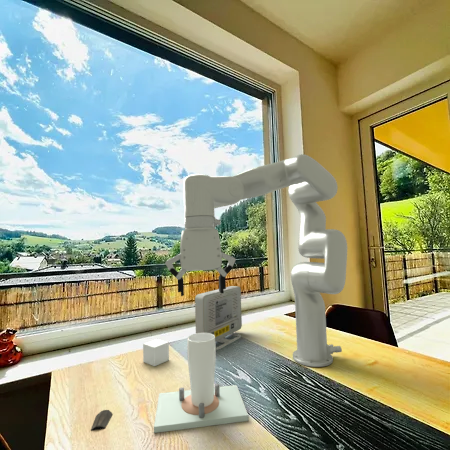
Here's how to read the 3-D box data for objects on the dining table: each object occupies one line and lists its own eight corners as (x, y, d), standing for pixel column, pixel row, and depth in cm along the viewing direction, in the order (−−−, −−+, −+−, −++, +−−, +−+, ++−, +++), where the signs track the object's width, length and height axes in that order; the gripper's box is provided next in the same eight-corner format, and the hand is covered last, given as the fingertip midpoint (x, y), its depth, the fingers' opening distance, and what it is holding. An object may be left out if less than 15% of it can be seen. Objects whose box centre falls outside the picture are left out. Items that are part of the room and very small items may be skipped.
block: (90, 437, 58) (89, 429, 58) (97, 418, 64) (96, 410, 64) (108, 432, 59) (107, 424, 59) (113, 413, 64) (112, 406, 64)
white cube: (143, 362, 92) (143, 343, 92) (157, 356, 96) (157, 338, 97) (154, 366, 88) (154, 347, 88) (169, 360, 93) (168, 341, 93)
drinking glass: (188, 395, 68) (187, 333, 69) (216, 393, 68) (214, 331, 70) (187, 411, 61) (186, 342, 62) (217, 409, 62) (216, 341, 63)
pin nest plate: (236, 389, 73) (236, 375, 73) (248, 420, 60) (247, 403, 60) (159, 398, 69) (159, 383, 70) (153, 432, 57) (153, 414, 57)
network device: (230, 330, 122) (229, 285, 124) (247, 333, 117) (245, 286, 119) (191, 349, 102) (190, 294, 103) (209, 354, 96) (208, 296, 98)
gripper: (231, 224, 74) (233, 289, 73) (165, 226, 71) (167, 293, 70) (236, 222, 66) (239, 294, 65) (163, 224, 64) (165, 299, 63)
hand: (202, 293), depth 68 cm, fingers open, 9 cm apart
